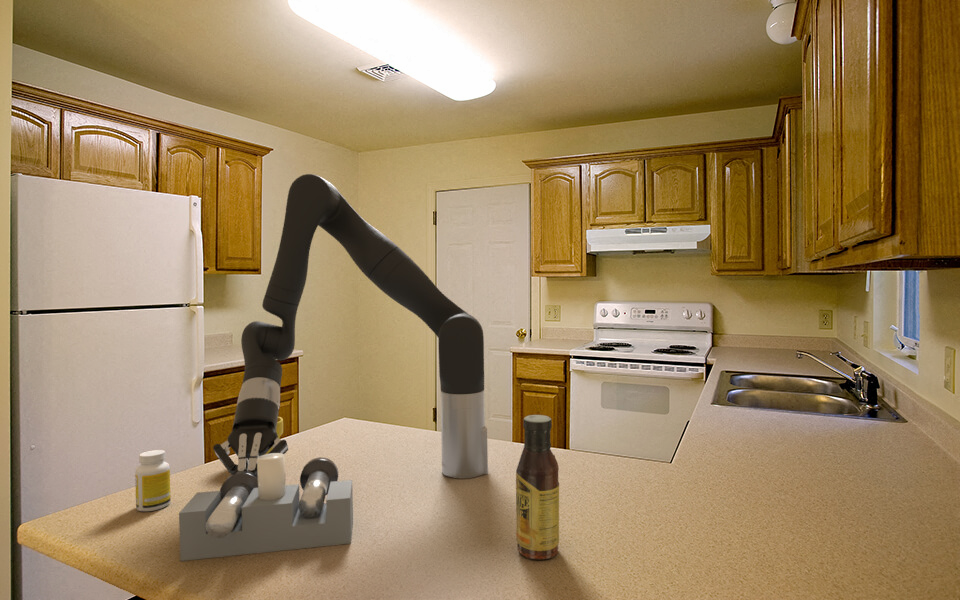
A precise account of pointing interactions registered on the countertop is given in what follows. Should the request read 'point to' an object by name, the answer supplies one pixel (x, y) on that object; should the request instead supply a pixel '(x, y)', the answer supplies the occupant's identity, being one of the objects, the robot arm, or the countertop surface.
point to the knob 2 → (316, 485)
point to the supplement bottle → (152, 481)
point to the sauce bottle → (537, 492)
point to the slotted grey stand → (267, 524)
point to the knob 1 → (231, 503)
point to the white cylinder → (271, 476)
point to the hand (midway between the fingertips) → (244, 495)
